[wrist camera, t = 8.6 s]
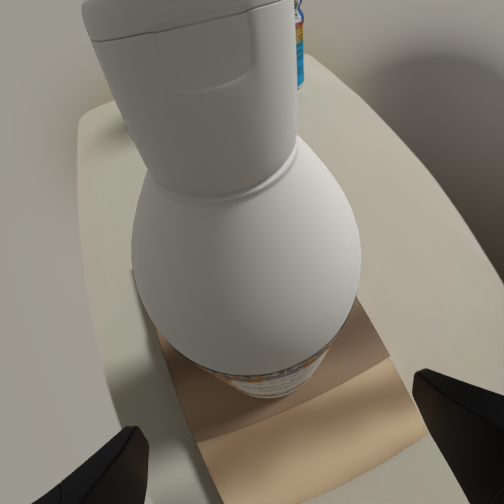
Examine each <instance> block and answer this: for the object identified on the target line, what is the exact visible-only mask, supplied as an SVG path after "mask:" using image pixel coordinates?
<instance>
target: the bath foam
mask: <svg viewBox="0 0 504 504" xmlns="http://www.w3.org/2000/svg"><path fill="white" fill-rule="evenodd" d="M82 17H83V21H84V24H85V26H86V30H87V32H88V35H89V37H90V39H91V43H92V45H93V48H94V50H95V53H96V55H97V58H98V60H99V63H100V65H101V68H102V70H103V73H104V75H105V77H106V80H107V82H108V84H109V87H110V89H111V92H112V94H113V96H114V99H115V101H116V103H117V106H118V108H119V110H120V112H121V115H122V117H123V119H124V121H125V123H126V126H127V128H128V130H129V132H130V134H131V137H132V139H133V141H134V143H135V145H136V147H137V149H138V151H139V153H140V155H141V157H142V159H143V161H144V163H145V165H146V166H147V168H148V170H147V173H146V176H145V180H144V183H143V186H142V190H141V194H140V197H139V201H138V205H137V209H136V214H135V219H134V224H133V232H132V243H131V250H132V267H133V273H134V278H135V282H136V286H137V289H138V292H139V295H140V298H141V300H142V303H143V305H144V307H145V309H146V311H147V313H148V315H149V317H150V318H151V320H152V321H153V323H154V325H155V326H156V327H157V329H158V330H159V332H160V333H161V334H162V335H163V337H164V338H165V339H166V340H167V342H168V343H169V344H170V345H171V346H172V347H173V348H174V349H175V350H176V351H177V352H179V353H180V354H181V355H182V356H184V357H185V358H187V359H188V360H190V361H191V362H193V363H194V364H196V365H197V366H199V367H200V368H202V369H204V370H205V371H207V372H208V373H210V374H212V375H213V376H215V377H216V378H218V379H220V380H221V381H223V382H225V383H226V384H228V385H230V386H231V387H233V388H235V389H236V390H238V391H240V392H242V393H245V394H247V395H250V396H253V397H258V398H276V397H281V396H284V395H287V394H290V393H292V392H294V391H296V390H297V389H299V388H300V387H301V386H303V385H304V384H305V383H306V382H307V381H308V380H309V379H310V378H311V376H312V375H313V374H314V372H315V371H316V370H317V368H318V366H319V365H320V363H321V362H322V360H323V359H324V357H325V355H326V354H327V352H328V351H329V349H330V347H331V346H332V344H333V342H334V341H335V339H336V337H337V336H338V334H339V332H340V331H341V329H342V327H343V325H344V324H345V322H346V320H347V318H348V316H349V314H350V312H351V310H352V307H353V305H354V301H355V298H356V294H357V288H358V284H359V277H360V268H361V250H360V240H359V233H358V229H357V225H356V221H355V218H354V215H353V212H352V209H351V207H350V205H349V203H348V200H347V198H346V196H345V194H344V192H343V191H342V189H341V187H340V186H339V184H338V183H337V181H336V180H335V178H334V177H333V175H332V174H331V173H330V171H329V170H328V169H327V168H326V166H325V165H324V164H323V163H322V161H321V160H320V159H319V158H318V157H317V156H316V155H315V153H314V152H313V151H312V150H311V149H310V148H309V147H308V146H307V145H306V143H305V142H304V141H303V140H302V139H301V138H300V137H299V136H298V135H297V56H296V31H295V11H294V0H84V2H83V4H82Z"/></svg>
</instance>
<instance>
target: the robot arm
mask: <svg viewBox="0 0 504 504" xmlns="http://www.w3.org/2000/svg"><path fill="white" fill-rule="evenodd" d="M412 394H413V397H414V400H415V402H416V404H417V406H418V408H419V411H420V413H421V415H422V417H423V419H424V422H425V424H426V426H427V428H428V430H429V432H430V434H431V436H432V438H433V439H434V441H435V443H436V444H437V446H438V448H439V449H440V451H441V453H442V454H443V456H444V458H445V460H446V461H447V463H448V465H449V467H450V468H451V470H452V472H453V474H454V475H455V477H456V479H457V481H458V483H459V484H460V486H461V488H462V490H463V492H464V493H465V495H466V497H467V499H468V501H469V503H470V504H504V395H501V394H498V393H495V392H492V391H489V390H486V389H483V388H480V387H477V386H474V385H471V384H468V383H466V382H463V381H460V380H457V379H454V378H452V377H449V376H446V375H443V374H441V373H438V372H435V371H433V370H430V369H427V368H425V369H422V370H420V371H417V372H416V373H415V374H414V381H413V389H412ZM148 457H149V444H148V442H147V440H146V438H145V436H144V435H143V433H142V431H141V430H140V428H139V427H138V426H126V427H124V428H123V429H122V430H121V431H120V432H119V433H118V434H117V435H115V436H114V437H113V438H112V439H111V440H110V441H109V442H107V443H106V444H105V445H104V446H103V447H102V448H101V449H99V450H98V451H97V452H96V453H95V454H94V455H92V456H91V457H90V458H89V459H88V460H87V461H85V462H84V463H83V464H82V465H81V466H80V467H78V468H77V469H76V470H75V471H74V472H72V473H71V474H70V475H69V476H68V477H66V478H65V479H64V480H63V481H62V482H61V484H60V483H59V484H58V485H56V486H55V487H54V488H53V489H52V490H50V491H49V492H48V493H46V494H45V495H44V496H42V497H41V498H39V499H38V500H36V501H35V502H33V503H32V504H144V502H145V495H146V490H147V480H148Z"/></svg>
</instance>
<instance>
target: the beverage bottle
mask: <svg viewBox="0 0 504 504" xmlns="http://www.w3.org/2000/svg"><path fill="white" fill-rule="evenodd" d="M301 2H302V0H294V11H295V31H296V56H297V89H299V88H300V87H301V86H302V85H303V83H304V71H303V70H304V66H303V22H304V16H303V13H302V11H301V10H300V4H301Z"/></svg>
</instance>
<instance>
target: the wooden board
mask: <svg viewBox="0 0 504 504" xmlns="http://www.w3.org/2000/svg"><path fill="white" fill-rule="evenodd" d="M155 327H156V326H155ZM156 330H157V334H158V337H159V341H160V344H161V347H162V351H163V354H164V357H165V360H166V363H167V366H168V369H169V372H170V375H171V378H172V381H173V384H174V387H175V390H176V393H177V396H178V399H179V401H180V404H181V407H182V409H183V412H184V415H185V417H186V420H187V423H188V425H189V428H190V430H191V433H192V435H193V438H194V440H195V443H197V445H198V448H199V450H200V452H201V455H202V457H203V459H204V462H205V464H206V466H207V468H208V471H209V473H210V475H211V477H212V479H213V482H214V484H215V486H216V488H217V490H218V492H219V494H220V496H221V498H222V500H223V502H224V504H299V503H301V502H304V501H306V500H309V499H311V498H313V497H316V496H318V495H320V494H323V493H325V492H327V491H329V490H332V489H334V488H336V487H338V486H340V485H342V484H344V483H346V482H348V481H350V480H352V479H354V478H356V477H358V476H360V475H362V474H364V473H365V472H367V471H369V470H371V469H373V468H374V467H376V466H378V465H380V464H381V463H383V462H385V461H386V460H388V459H390V458H391V457H393V456H395V455H396V454H398V453H399V452H401V451H402V450H404V449H406V448H407V447H409V446H410V445H412V444H413V443H415V442H416V441H417V440H419V439H420V438H422V437H423V436H425V435H426V434H427V433H428V432H427V430H426V428H425V425H424V423H423V421H422V419H421V417H420V415H419V413H418V411H417V409H416V407H415V405H414V403H413V401H412V399H411V397H410V395H409V393H408V391H407V389H406V387H405V385H404V383H403V382H402V380H401V378H400V376H399V374H398V372H397V370H396V368H395V366H394V364H393V363H392V361H391V359H390V357H389V356H390V355H389V353H388V351H387V349H386V347H385V346H384V344H383V342H382V340H381V338H380V337H379V335H378V333H377V331H376V330H375V328H374V326H373V324H372V323H371V321H370V319H369V317H368V316H367V314H366V312H365V310H364V309H363V307H362V305H361V304H360V302H359V300H358V298H357V297H356V298H355V301H354V305H353V307H352V310H351V312H350V314H349V316H348V318H347V320H346V322H345V324H344V325H343V327H342V329H341V331H340V332H339V334H338V336H337V337H336V339H335V341H334V342H333V344H332V346H331V347H330V349H329V351H328V352H327V354H326V355H325V357H324V359H323V360H322V362H321V363H320V365H319V366H318V368H317V370H316V371H315V372H314V374H313V375H312V376H311V378H310V379H309V380H308V381H307V382H306V383H305V384H304V385H303V386H301V387H300V388H299V389H297V390H296V391H294V392H292V393H290V394H287V395H284V396H281V397H276V398H258V397H253V396H250V395H247V394H245V393H242V392H240V391H238V390H236V389H235V388H233V387H231V386H230V385H228V384H226V383H225V382H223V381H221V380H220V379H218V378H216V377H215V376H213V375H212V374H210V373H208V372H207V371H205V370H204V369H202V368H200V367H199V366H197V365H196V364H194V363H193V362H191V361H190V360H188V359H187V358H185V357H184V356H182V355H181V354H180V353H179V352H177V351H176V350H175V349H174V348H173V347H172V346H171V345H170V344H169V343H168V342H167V340H166V339H165V338H164V337H163V335H162V334H161V333H160V332H159V330H158V329H157V327H156Z"/></svg>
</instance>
